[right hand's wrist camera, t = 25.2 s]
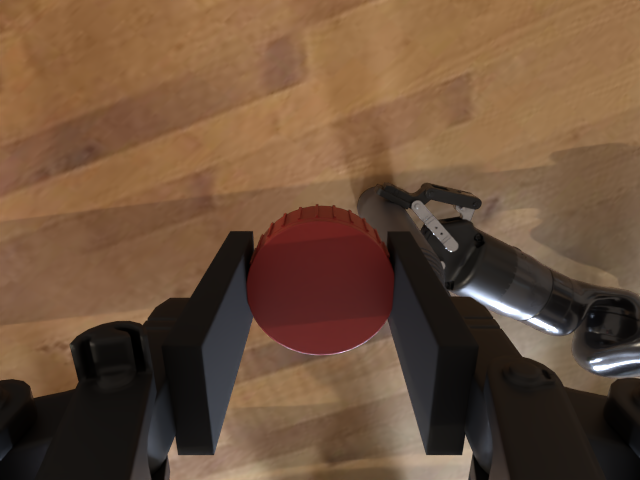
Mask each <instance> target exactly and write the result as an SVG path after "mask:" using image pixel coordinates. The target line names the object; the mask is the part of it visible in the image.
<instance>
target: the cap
mask: <svg viewBox="0 0 640 480" xmlns="http://www.w3.org/2000/svg"><path fill="white" fill-rule="evenodd" d="M389 257H390V254H389V252H388V250H387V247H386V245H385V242H384V241H383V242H382V240H381V238H380V237H379V235H378V232H377V230H376V228H375V229H373V228H372V227H371V226H370V225H369V224H368V223H367V222H366V219H365V218H363V219H362V218H360V217H359V216H357V215H356V214H353V213H352V212H351V210H349V211H347V210H344V209H341V208H336V207H335V205H333V206H332V207H331V206H318V204H316V206H311V207H306V208H302V207H299V209H298V210H296V211H293V212H291V213H289V214H286V213H285V214H284V216H283V217H282V218H280V219H279V220H277V221H276V222H275V223H273V222H272V223H271V225H270V228H269V229H268V230H267V231H266V233H265V234H264V235H263V234H262V235H261V237H260V240H259V243H258V245H257V248H255V250H254V252H253V255H252V257H251V260H250V263H249V264H250V269H249V272H248V276H247V299H248V304H249V307H250V310H251V312H252V314H253V317H254V318H255V320H256V322H257V323H258V325H259V326H260V327H261V328H262V330H263V331H264V332H265V333H266V334H267V335H268V336H270V337H271V338H272V339H273V340H275V341H276V342H278V343H279V344H281V345H283V346H285V347H287V348H289V349H292V350H294V351H297V352H301V353H305V354H312V355H331V354H337V353H341V352H345V351H348V350H351V349H353V348H355V347H358V346H359V345H361V344H363V343H365V342H366V341H367V340H369V339H370V338H372V337H373V336H374V335H375V334H376V333H377V332H378V331H379V330H380V329H381V327H382V326H383V325H384V324H385V322H386V320H387V319H388V317H389V315H390V313H391V311H392V304H393V289H394V271H393V268H392V265H391V262H390V260H389Z"/></svg>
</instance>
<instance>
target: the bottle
mask: <svg viewBox="0 0 640 480" xmlns="http://www.w3.org/2000/svg"><path fill="white" fill-rule="evenodd" d="M374 189H375V187H372V188H370V189H368V190H366V191H365V192H364V193H363V194H362V195H361V196H360V198H359V201H358V205H357V209H358V214H359V217H360V218H362V219H363V218H365V219H366V222H367V223H368V224H369V225H370V226H371V227H372V228H373V229H375V228H376V230H377V232H378V235H379V237H380V238H381V240H382V242H383V241H384V242H385V245H386V246H387V231H410V232H411V234H412V236H413V237H414V239H415V241H416V242H417V244H418V246H419V247H420V249H421V251H422V252H423V254H424V256H425V257H426V259H427V261H428V262H429V264H430V265H431V267H432V269H433V270H434V272H435V274H436V275H437V277H438V279H439V280H440V282H441V284H442V285H443V287H444V289H445V290H446V292H447V294H448V295H449V297H451V295H450V293H449V291H448V290H447V289H446V288H445V273H444V269H443V265H442V263H441V261H440V259H439V258H438V256H437V255H436V253H435V252H434V251H433V249H432V248H431V246H430V245H429V243H428V242H427V240H426V239H425V238H424V236H423V235H422V233H421V232H420V230H419V229H418V227H417V226H416V224H415V223H414V222H413V220H412V219H411V217H410V216H409V214H408V213H407V211H406V210H405V209H404V208H403V207H401V206H399V205H397V204H395V203H393V202H391V201H389V200H387V199H385V198H383V197H381V196H379V195H377V194H376V193H375V191H374Z"/></svg>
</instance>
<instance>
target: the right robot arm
mask: <svg viewBox="0 0 640 480" xmlns="http://www.w3.org/2000/svg"><path fill="white" fill-rule="evenodd" d="M386 247H387V250H388V252H389V254H390V257H389V260H390V262H391V265H392V268H393V271H394V289H393V304H392V311H391V313H390V315H389V317H388V322H389V326H390V329H391V333H392V336H393V340H394V343H395V347H396V350H397V354H398V357H399V361H400V364H401V368H402V371H403V375H404V378H405V382H406V385H407V389H408V392H409V396H410V399H411V403H412V406H413V410H414V413H415V417H416V420H417V424H418V427H419V431H420V434H421V438H422V441H423V445H424V448H425V452H426V455H462V452H463V446H464V439H465V434H466V437H467V439H468V442H469V444H470V446H471V449H472V451H473V455H472V461H471V467H470V473H469V478H468V480H640V379H639V378H629V377H628V378H622V379H617V380H616V381H615V382H613V383H612V384H611V386H610V390H609V393H608V396H603V395H598V394H593V393H588V392H584V391H579V390H574V389H571V388H567V387H564V386H563V384H562V382H561V380H560V379H559V378H558V376H557V375H556V374H555V372H553V371H552V370H550V369H549V368H548V367H546V366H545V365H543V364H541V363H539V362H537V361H534V360H532V359H529V358H525V357H522V356H521V355H520V353H519V352H518V350H517V349H516V348H515V346H514V345H513V344H512V342H511V341H510V340H509V338H508V337H507V336H506V334H505V333H504V331H503V330H502V329H500V326H499V325H498V323H497V322H496V321H495V319H493V316H492V315H491V314H490V312H489V311H488V310H487V308H486V307H485V306H484V305H482V304H481V303H479V302H478V301H476V300H475V299H473V298H472V297H449V295H448V294H447V292H446V290H445V289H444V287H443V285H442V284H441V282H440V280H439V279H438V277H437V275H436V274H435V272H434V270H433V269H432V267H431V265H430V264H429V262H428V261H427V259H426V257H425V256H424V254H423V252H422V251H421V249H420V247H419V246H418V244H417V242H416V241H415V239H414V237H413V236H412V234H411V232H410V231H387V246H386ZM253 252H254V241H253V231H230V233H229V234H228V236H227V238H226V239H225V241H224V243H223V244H222V246H221V248H220V249H219V251H218V253H217V254H216V256H215V258H214V259H213V261H212V263H211V264H210V266H209V268H208V269H207V271H206V273H205V274H204V276H203V278H202V279H201V281H200V283H199V284H198V286H197V288H196V289H195V291H194V293H193V294H192V296H191V298H169V299H168V300H166V301H165V302H163V303H162V304H160V305H159V306H157V307H156V308H155V309H154V310H153V312H152V313H151V315H150V316H149V317H148V320H147V321H145V323H144V324H143V325H141V324H140V323H136V322H132V321H115V322H110V323H105V324H101V325H99V326H96V327H93V328H91V329H88V330H87V331H85V332H83V333H82V334H80V335H78V336H77V337H76V338H75V339H74V340H73V341H72V342H71V344H70V348H71V352H72V356H73V361H74V365H75V369H76V373H77V377H78V381H79V382H78V385H77V387H76V389H73V390H69V391H66V392H61V393H56V394H51V395H46V396H42V397H37V398H33V395H32V392H31V388H30V386H29V385H28V384H26V383H25V382H24V381H20V380H14V379H10V380H1V381H0V480H169V478H170V467H169V461H168V455H167V454H168V452H169V449H170V447H171V444H172V442H173V440H174V437H176V444H177V450H178V455H214V453H215V449H216V446H217V442H218V439H219V435H220V432H221V428H222V425H223V421H224V418H225V414H226V411H227V407H228V404H229V400H230V397H231V393H232V390H233V386H234V383H235V379H236V376H237V372H238V369H239V365H240V362H241V358H242V355H243V351H244V348H245V344H246V341H247V337H248V333H249V330H250V326H251V323H252V319H253V314H252V312H251V310H250V307H249V304H248V299H247V276H248V272H249V269H250V264H249V263H250V260H251V257H252V255H253Z"/></svg>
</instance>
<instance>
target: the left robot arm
mask: <svg viewBox="0 0 640 480" xmlns="http://www.w3.org/2000/svg"><path fill="white" fill-rule="evenodd" d="M374 191H375V193H376V194H377V195H379V196H381V197H383V198H385V199H387V200H389V201H391V202H393V203H395V204H397V205H399V206H401V207H403V208H405V209H408V208H411V209H412V210H413V211H414V212H415V213H416V214H417V215H418V217H419V218H420V219H421V220H422V221H423V222H424V223H425V224H424V225H423V227H422V228H421V230H420V232H421V233H422V235H423V236H424V238H425V239H426V240H427V242H428V243H429V245H430V246H431V248H432V249H433V251H434V252H435V253H436V255H437V256H438V258H439V259H440V261H441V263H442V265H443V269H444V273H445V288H446V289H447V290H448V291H450V292H452V293H455V294H457V295H459V296H461V297H472V298H473V299H475V300H476V301H478V302H479V303H481V304H482V305H484V306H485V307H486V308H487V309H489V310H491V311H493V312H495V313H497V314H500V315H503V316H507V317H510V318H513V319H515V320H517V321H520V322H522V323H524V324H526V325H528V326H530V327H532V328H534V329H536V330H539V331H541V332H543V333H545V334H548V335H552V336H564V335H568V334H570V333H572V332H573V331H575V332H574V336H573V341H572V355H573V357H574V359H575V360H576V362H577V363H578V364H579V365H580V366H581V367H582V368H583V369H585V370H586V371H588V372H590V373H592V374H595V375H598V376H601V377H606V378H614V379H622V378H628V377H629V378H635V377H640V296H639V295H637V294H636V293H633V292H631V291H628V290H624V289H619V288H612V287H604V286H598V285H593V284H589V283H585V282H581V281H577V280H574V279H571V278H569V277H567V276H565V275H563V274H561V273H559V272H557V271H555V270H553V269H551V268H549V267H547V266H545V265H543V264H541V263H540V262H539V261H537V260H536V259H534V258H533V257H531V256H530V255H528V254H526V253H524V252H522V251H521V250H520V249H518V248H516V247H512V246H510V245H508V244H506V243H504V242H502V241H500V240H498V239H496V238H494V237H492V236H490V235H488V234H486V233H484V232H482V231H480V230H478V229H476V228H475V227H474V225H473V224H472V222H470V221H471V218H472V216H473V213H474V210H476V209H478V208H480V207H481V204H482V202H481V200H480V199H479V198H477V197H476V196H474V195H473V194H472V193H469V192H465V191H460V190H456V189H452V188H447V187H443V186H439V185H435V184H430V183H424V184H422V186H421V188H420V189H419V190H418V191H417V192H415V193H408V192H406V191H404V190H402V189H400V188H398V187H396V186H394V185H392V184H390V183H384V184H383V186H381V185H379V184H377V185H376V187H375V189H374ZM430 200H435V201H439V202H444V203H448V204H452V205H453V207H454V209H455V210H456V211H458V212H460V217H453V218H447V219H441V220H437V219H436V218H435V217H434V216H433V214H432V213H431V212H430V211H429V210H428V209H427V208H426V206H425V204H426V203H427V202H428V201H430Z"/></svg>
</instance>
